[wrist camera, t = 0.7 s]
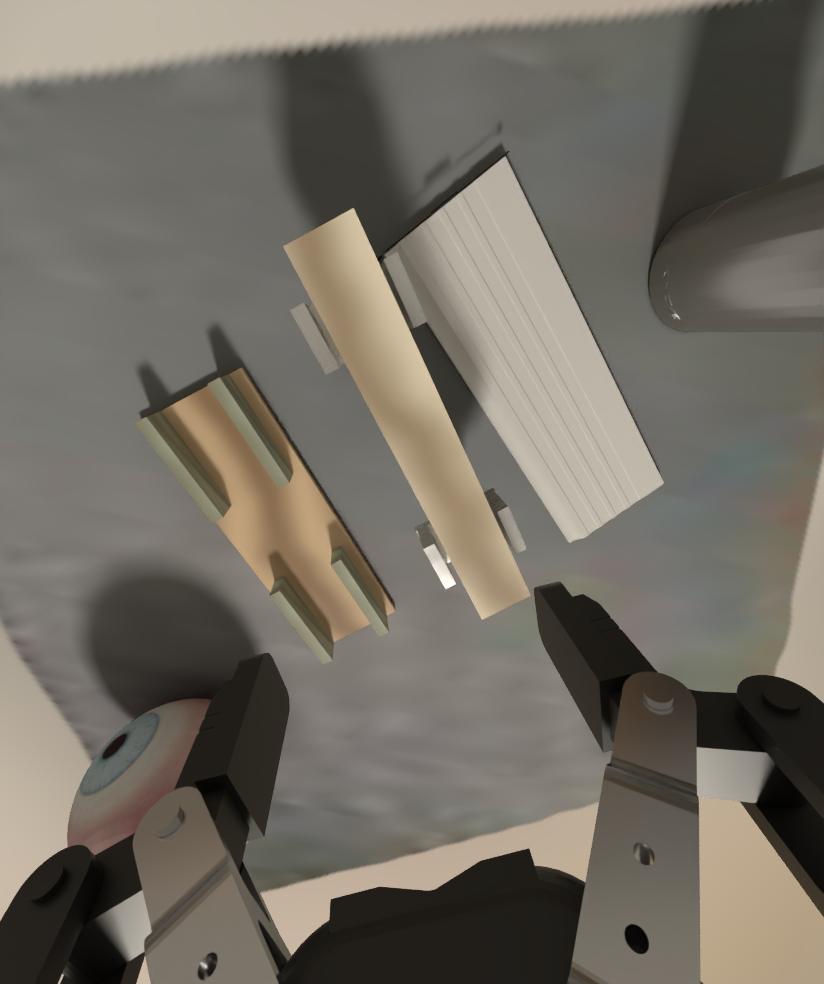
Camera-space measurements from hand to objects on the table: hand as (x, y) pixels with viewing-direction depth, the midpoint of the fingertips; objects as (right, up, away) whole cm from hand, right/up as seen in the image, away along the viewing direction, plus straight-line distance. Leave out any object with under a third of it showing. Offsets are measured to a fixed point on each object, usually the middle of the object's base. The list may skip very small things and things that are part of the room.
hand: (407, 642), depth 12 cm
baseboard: (+10, +14, +24) cm, 30 cm away
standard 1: (-4, +18, +20) cm, 27 cm away
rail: (+1, +8, +15) cm, 17 cm away
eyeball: (-22, -19, +31) cm, 43 cm away
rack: (-11, +1, +25) cm, 27 cm away
